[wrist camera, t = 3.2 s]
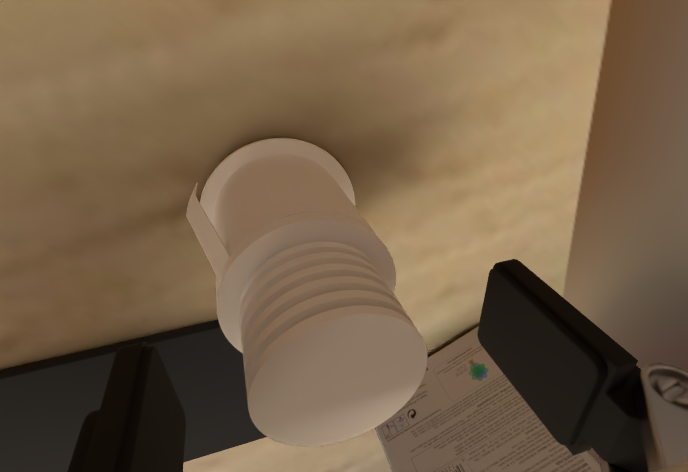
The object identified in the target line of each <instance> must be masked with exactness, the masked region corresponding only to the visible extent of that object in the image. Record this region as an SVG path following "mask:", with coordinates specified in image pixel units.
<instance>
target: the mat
mask: <svg viewBox="0 0 688 472" xmlns="http://www.w3.org/2000/svg"><path fill="white" fill-rule="evenodd" d="M141 342H146V343H147V344H148V346H149V347H151V346H156V348H157V349H158V352H159V354H160V356H161V359H162V361H163V363H164V366H165V368H166V370H167V373H168V375H169V377H170V380H171V382H172V384H173V387H174V389H175V391H176V394H177V396H178V398H179V401H180V403H181V405H182V408H183V410H184V413H185V418H186V431H185V446H184V460H183V462H186V461H190V460H193V459H196V458H199V457H203V456H206V455H209V454H212V453H216V452H219V451H222V450H225V449H229V448H232V447H235V446H238V445H242V444H245V443H248V442H251V441H255V440H258V439H261V438H264V437H267V436H265V435H264V434H263V433H262V432H260V431H259V430H258V429H257V427H256V426H255V425H254V423H253V422H252V419H251V417H250V414H249V410H248V401H247V390H246V382H245V371H244V362H243V353H241V352H240V351H239V350H237V349H236V348H235V347H234V346H233V345H232V344H231V343H230V342H229V341H228V339H227V338H226V337H225V335H224V333H223V331H222V329H221V327H220V324H219V321H218V320H217V321H212V322H208V323H204V324H199V325H195V326H191V327H186V328H182V329H178V330H173V331H169V332H165V333H160V334H156V335H152V336H147V337H143V338H139V339H134V340H130V341H126V342H122V343H117V344H113V345H109V346H104V347H100V348H96V349H91V350H87V351H83V352H78V353H74V354H70V355H65V356H61V357H57V358H52V359H48V360H44V361H39V362H35V363H31V364H26V365H22V366H18V367H13V368H9V369H5V370H0V472H67V471H68V468H69V465H70V462H71V459H72V456H73V452H74V449H75V446H76V443H77V440H78V437H79V434H80V430H81V427H82V424H83V422H84V420H85V417H86V416H87V415H88V414H89V413H90V412H93V411H96V410H100V407H101V404H102V400H103V397H104V393H105V390H106V386H107V383H108V379H109V376H110V372H111V369H112V365H113V362H114V358H115V355H116V352H117V349H118V348H119V347H123V346H128V345H132V344H137V343H141Z"/></svg>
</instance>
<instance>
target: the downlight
mask: <svg viewBox="0 0 688 472" xmlns="http://www.w3.org/2000/svg"><path fill="white" fill-rule="evenodd" d="M197 185H198V182H197V183H196V185H195V188H194V190H193V193H192V195H191V197H190V200H189V203H188V208H187V213H186V217H187V219H188V221H189V223H190V225H191V227H192V229H193V231H194V233H195V235H196V237H197V239H198V241H199V243H200V245H201V247H202V249H203V251H204V253H205V255H206V257H207V259H208V261H209V263H210V265H211V267H212V269H213V271H214V273H215V274H216V307H217V317H218V321H219V324H220V327H221V329H222V331H223V333H224V335H225V337H226V338H227V339H228V341H229V342H230V343H231V344H232V345H233V346H234V347H235V348H236V349H237V350H239V351H240V352H241V353H243V362H244V371H245V382H246V390H247V401H248V410H249V414H250V417H251V419H252V422H253V423H254V425H255V426H256V427H257V429H258V430H259V431H260V432H262V433H263V434H264V435H265V436H267V437H268V438H270V439H272V440H274V441H277V442H280V443H283V444H287V445H292V446H301V447H312V446H323V445H329V444H334V443H338V442H342V441H345V440H348V439H351V438H354V437H357V436H359V435H361V434H363V433H366V432H368V431H370V430H371V429H373V428H375V427H377V426H378V425H380V424H382V423H383V422H385V421H386V420H387V419H389V418H390V417H392V416H393V415H394V414H395V413H396V412H398V411H399V410H400V409H401V408H402V407H403V406H404V405H405V404H406V403H407V402H408V401H409V399H410V398H411V397H412V396H413V394H414V393H415V392H416V390H417V389H418V387H419V385H420V383H421V381H422V379H423V377H424V374H425V371H426V367H427V358H428V355H427V348H426V345H425V342H424V340H423V338H422V336H421V335H420V333H419V332H418V330H417V329H416V327H415V326H414V325H413V323H412V321H411V320H410V318H409V317H408V315H407V314H406V312H405V311H404V309H403V307H402V306H401V304H400V303H399V301H398V300H397V298H396V297H395V295H394V291H395V285H396V272H395V266H394V263H393V260H392V257H391V255H390V253H389V251H388V250H387V248H386V247H385V245H384V244H383V243H382V241H381V240H380V239H379V238H378V236H377V235H376V234H375V232H374V231H373V230H372V228H371V227H370V226H369V224H368V223H367V222H366V220H365V219H364V218H363V216H362V215H361V214H360V212H359V211H358V210H357V208H356V207H355V195H354V191H353V187H352V184H351V181H350V179H349V177H348V175H347V173H346V172H345V170H344V169H343V167H342V166H341V165H340V164H339V162H338V161H337V160H336V159H335V158H334V157H333V156H331V155H330V154H329V153H328V152H326V151H325V150H323V149H322V148H320V147H318V146H316V145H314V144H311V143H309V142H305V141H302V140H297V139H291V138H271V139H265V140H260V141H257V142H253V143H251V144H248V145H246V146H243V147H242V148H240V149H238V150H236V151H235V152H233V153H232V154H230V155H229V156H228V157H226V158H225V159H224V160H223V161H222V162H221V163H220V164H219V165H218V166H217V167H216V168H215V169H214V171H213V172H212V173H211V175H210V177H209V178H208V180H207V182H206V184H205V186H204V189H203V191H202V194H201V199H200V203H199V201H198V199H197V197H196V191H197Z"/></svg>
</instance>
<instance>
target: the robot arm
mask: <svg viewBox="0 0 688 472" xmlns="http://www.w3.org/2000/svg"><path fill="white" fill-rule="evenodd" d="M477 335H478V340H479V342H480V344H481V346H482V347H483V348H484V349H485V351H486V352H487V353H488V355H489V356H490V357H491V358H492V360H493V361H494V362H495V363H496V365H497V366H498V367H499V369H500V370H501V371H502V372H503V374H504V375H505V376H506V377H507V379H508V380H509V381H510V383H511V384H512V385H513V386H514V388H515V389H516V390H517V391H518V393H519V394H520V395H521V397H522V398H523V399H524V400H525V402H526V403H527V404H528V405H529V407H530V408H531V409H532V411H533V412H534V413H535V414H536V416H537V417H538V418H539V419H540V421H541V422H542V423H543V425H544V426H545V427H546V428H547V430H548V431H549V432H550V433H551V435H552V436H553V437H554V439H555V440H556V441H557V442H558V443H560V444H561V445H565V446H566V447H567V449H568V450H569V451H570V452H571V454H572V455H573V456H574V455H577V454H580V453H583V452H585V451H588V450H590V449H591V448H593V449H594V450H595V451H596V453H597V454H598V455H599V459H600V467H601V472H688V371H686V370H684V369H682V368H679V367H676V366H673V365H669V364H663V363H653V364H649V365H647V366H645V367H644V368H643V369H642V370H641V369H640V368H638V367H637V366H636V364H637V362H638V360H636V359H635V358H634V357H633V356H632V355H631V354H629V353H628V352H627V351H626V350H625V349H624V348H622V347H621V346H620V345H619V344H617V343H616V342H615V341H614V340H613V339H611V338H610V337H609V336H608V335H607V334H605V333H604V332H603V331H602V330H601V329H600V328H598V327H597V326H596V325H595V324H594V323H592V322H591V321H590V320H589V319H588V318H587V317H585V316H584V315H583V314H582V313H580V312H579V311H578V310H577V309H576V308H575V307H573V306H572V305H571V304H570V303H569V302H567V301H566V300H565V299H564V298H563V297H561V296H560V295H559V294H558V293H557V292H555V291H554V290H553V289H552V288H551V287H550V286H548V285H547V284H546V283H545V282H544V281H542V280H541V279H540V278H539V277H538V276H536V275H535V274H534V273H533V272H532V271H530V270H529V269H528V268H527V267H526V266H524V265H523V264H522V263H521V262H520V261H518V260H516V259H512V260H508V261H503V262H499V263H496V264H495V265H494V267H493V269H491V270H490V273H489V277H488V282H487V287H486V292H485V297H484V303H483V308H482V313H481V318H480V323H479V328H478V334H477ZM185 431H186V418H185V413H184V410H183V408H182V405H181V403H180V401H179V398H178V396H177V394H176V391H175V389H174V387H173V384H172V382H171V380H170V377H169V375H168V373H167V370H166V368H165V366H164V363H163V361H162V359H161V356H160V354H159V352H158V349H157V348H156V346H151V347H149V346H148V344H147V343H146V342H141V343H137V344H132V345H128V346H123V347H119V348H118V349H117V352H116V355H115V358H114V362H113V365H112V369H111V372H110V376H109V379H108V383H107V386H106V390H105V393H104V397H103V400H102V404H101V407H100V410H96V411H93V412H90V413H89V414H88V415H87V416H86V417H85V420H84V422H83V424H82V427H81V430H80V434H79V437H78V440H77V443H76V446H75V449H74V452H73V456H72V459H71V462H70V465H69V468H68V471H67V472H183V460H184V446H185Z"/></svg>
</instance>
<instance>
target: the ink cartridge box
mask: <svg viewBox="0 0 688 472" xmlns="http://www.w3.org/2000/svg"><path fill="white" fill-rule="evenodd" d="M478 328H479V326H478V327H476V328H475V329H473V330H472V331H470V332H468V333H467V334H465V335H464V336H462V337H460V338H459V339H457V340H456V341H454V342H452V343H451V344H449V345H448V346H446V347H444V348H443V349H441V350H440V351H438V352H436V353H435V354H433V355H432V356H430V357H428V358H427V367H426V371H425V374H424V377H423V379H422V381H421V383H420V385H419V387H418V389H417V390H416V392H415V393H414V394H413V396H412V397H411V398H410V399H409V401H408V402H407V403H406V404H405V405H404V406H403V407H402V408H401V409H400V410H399V411H398V412H396V413H395V414H394V415H393V416H392V417H390V418H389V419H387V420H386V421H385V422H383V423H382V424H380V425H378V426H377V427H375V429H376V432H377V434H378V437H379V439H380V442H381V444H382V446H383V449H384V451H385V454H386V456H387V459H388V461H389V464H390V466H391V469H392V471H393V472H601V467H600V464H599V463H598V462H597V461H596V460H595V459H594V457H593V456H592V455H591V454H590V453H589V451H585V452H583V453H580V454H577V455H574V456H573V455H572V454H571V452H570V451H569V450H568V449H567V447H566V446H565V445H561V444H560V443H558V442H557V441H556V440H555V439H554V437H553V436H552V435H551V433H550V432H549V431H548V430H547V428H546V427H545V426H544V425H543V423H542V422H541V421H540V419H539V418H538V417H537V416H536V414H535V413H534V412H533V411H532V409H531V408H530V407H529V405H528V404H527V403H526V402H525V400H524V399H523V398H522V397H521V395H520V394H519V393H518V391H517V390H516V389H515V388H514V386H513V385H512V384H511V383H510V381H509V380H508V379H507V377H506V376H505V375H504V374H503V372H502V371H501V370H500V369H499V367H498V366H497V365H496V363H495V362H494V361H493V360H492V358H491V357H490V356H489V355H488V353H487V352H486V351H485V349H484V348H483V347H482V346H481V344H480V342H479V340H478V335H477V334H478Z"/></svg>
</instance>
